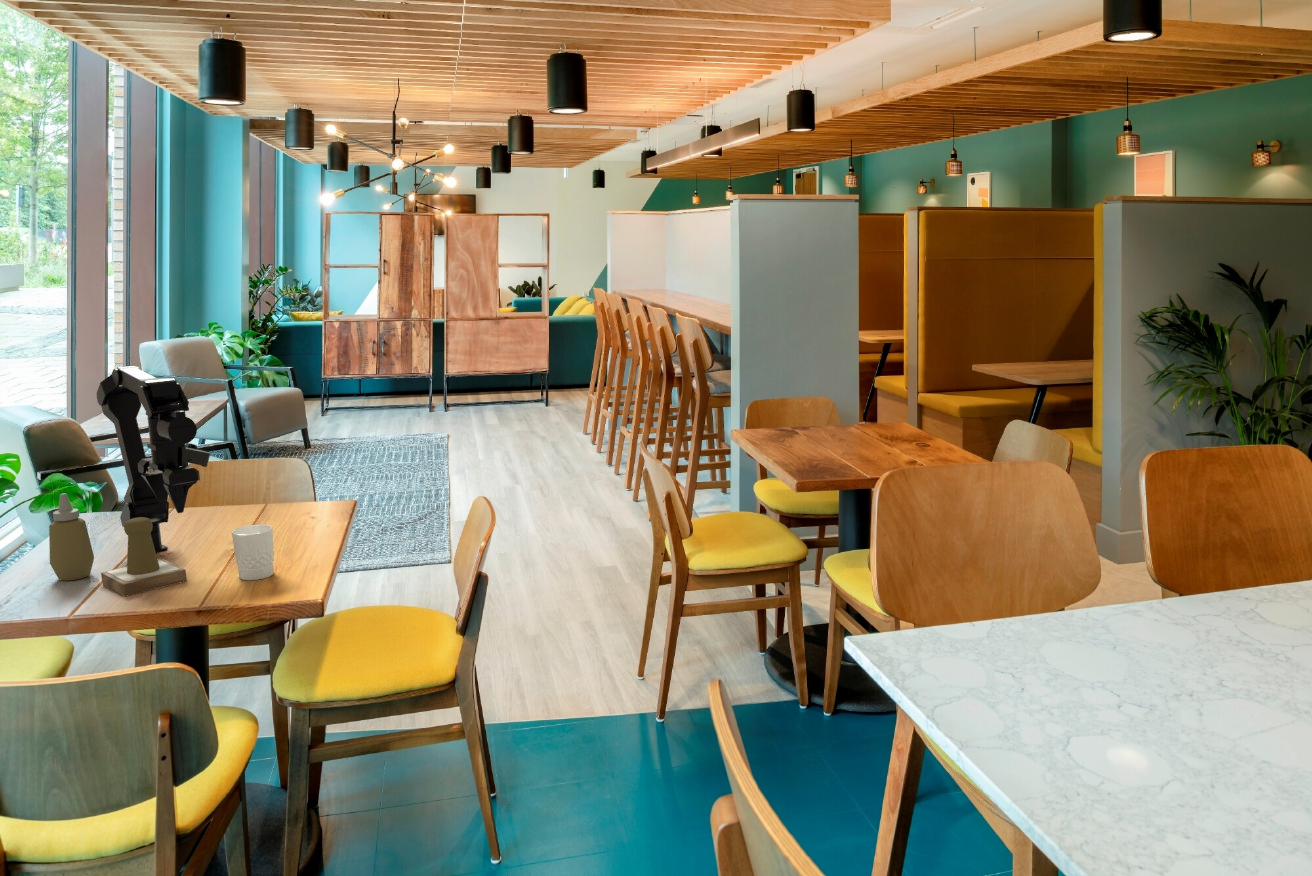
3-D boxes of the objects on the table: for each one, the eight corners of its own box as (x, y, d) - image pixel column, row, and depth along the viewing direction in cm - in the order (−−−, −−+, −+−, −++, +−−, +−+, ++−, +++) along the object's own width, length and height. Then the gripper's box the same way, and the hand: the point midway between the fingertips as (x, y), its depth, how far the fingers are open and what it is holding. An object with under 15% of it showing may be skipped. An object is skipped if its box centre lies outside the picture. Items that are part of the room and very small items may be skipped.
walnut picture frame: (102, 584, 200) (100, 571, 199) (162, 569, 208) (161, 557, 208) (125, 596, 192) (123, 583, 191) (186, 581, 200) (185, 568, 200)
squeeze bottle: (50, 585, 199) (38, 500, 196) (53, 574, 206) (42, 492, 203) (95, 579, 203) (84, 495, 200) (97, 568, 210) (86, 487, 207)
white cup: (284, 571, 206) (280, 526, 204) (258, 583, 198) (254, 536, 197) (254, 568, 208) (250, 523, 207) (227, 579, 201) (223, 533, 199)
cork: (145, 575, 196) (139, 522, 194) (120, 574, 197) (113, 521, 195) (166, 566, 202) (160, 515, 200) (141, 565, 203) (135, 514, 201)
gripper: (221, 438, 205) (227, 509, 208) (186, 427, 218) (193, 494, 221) (166, 446, 198) (173, 519, 201) (133, 434, 210) (141, 504, 213)
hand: (172, 508), depth 209 cm, fingers open, 9 cm apart
